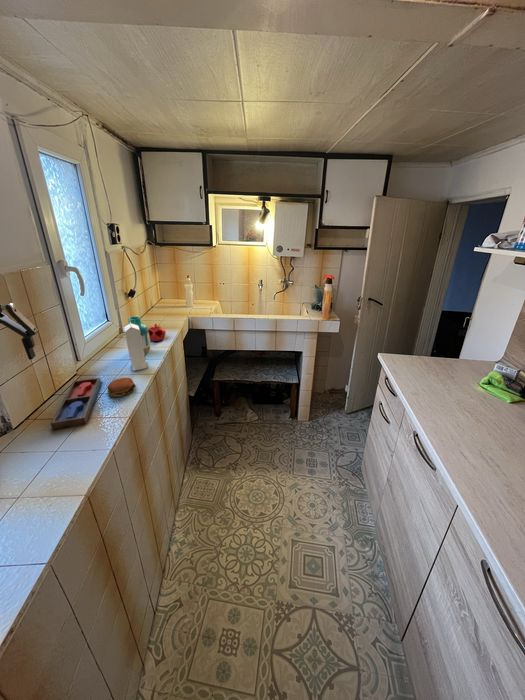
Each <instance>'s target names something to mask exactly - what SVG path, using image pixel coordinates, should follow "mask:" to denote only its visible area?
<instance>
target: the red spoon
mask: <svg viewBox="0 0 525 700" xmlns="http://www.w3.org/2000/svg"><path fill="white" fill-rule="evenodd" d="M79 387H80V391H79V393H78V397H82V396H85V394H86V392H87V390H89V389H90V388H91V387H92V386H91V383H90V382H84V383H82V384H80V385H79Z"/></svg>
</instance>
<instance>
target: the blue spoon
mask: <svg viewBox="0 0 525 700" xmlns="http://www.w3.org/2000/svg"><path fill="white" fill-rule="evenodd" d="M69 407H70V412H69V414H68V416H67V419H72V418H75V417H76V415H77V413H78V411H79V410H81V409H82V408H83V407H84V406H83V403H82V402H81V401H77V402H74V403H72V404H70V406H69Z"/></svg>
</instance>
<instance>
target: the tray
mask: <svg viewBox="0 0 525 700" xmlns="http://www.w3.org/2000/svg"><path fill="white" fill-rule="evenodd" d="M84 382H90V383H91V386H92V387H91V388H90V389H89V390H87V392H86V394H85V396H82V397H78V393H79V391H80V387H79V385H80V384H82V383H84ZM101 385H102V380H101V377H100V376H99V377H93V378H85V379H78V380H73V381H72V383H71V384H70V387H69V388H68V391H67V392H66V393H65V396H64V398H63V400H61V403H60V405H59V407H58V409H57V411H56V413H55V414H54V416H53V418H52V420H51V422H50V426H51V429H52V430H53V431H54V430H60V429H65V428H70V427H71V428H72V427H77V426H82V425H87V423H88V420H89V417H90V415H91V412H92V409H93V407H94V404H95V401H96V398H97V396H98V393H99V390H100V388H101ZM77 401H81V402H82V403H83V406H84V407H83V408H82V409H81V410H79V411H78V413H77V415H76V417H75V418H72V419H67V416H68V414H69V412H70V407H69V406H70V404H72V403H74V402H77Z"/></svg>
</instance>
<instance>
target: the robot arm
mask: <svg viewBox="0 0 525 700" xmlns="http://www.w3.org/2000/svg"><path fill="white" fill-rule="evenodd" d="M3 311H5V313H8V315H9V316H10V317H11V318H12V319H11V318H9V316H8V315H7V314H5V313H3ZM13 319H14V320H15V321H14V320H13ZM0 324H1V325H3V326H5V328H8V329H10V330H11V331H13V332H15V333H16V334H18V335H19V336H21V337H22V338H21V343H22V345H23V348H24V350H25V353H26V356H27V358H28V360H29V361H30V360H31V361H32V360H33V359H34V358H35V357H36V352H35V350H34V347H35V346H36V343H35V340H34V337H33V336H35V335H36V334H38V332H39V329H38V328H37V327H36V326H35V325H34V324H33V323H32V322H31V321H30V320H29V319H28V318H27V317H26V316H25V315H23V313H22V312H20V310H18V308H17V306H16V304H15V303H14V302H9V303H7V304H1V303H0Z"/></svg>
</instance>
